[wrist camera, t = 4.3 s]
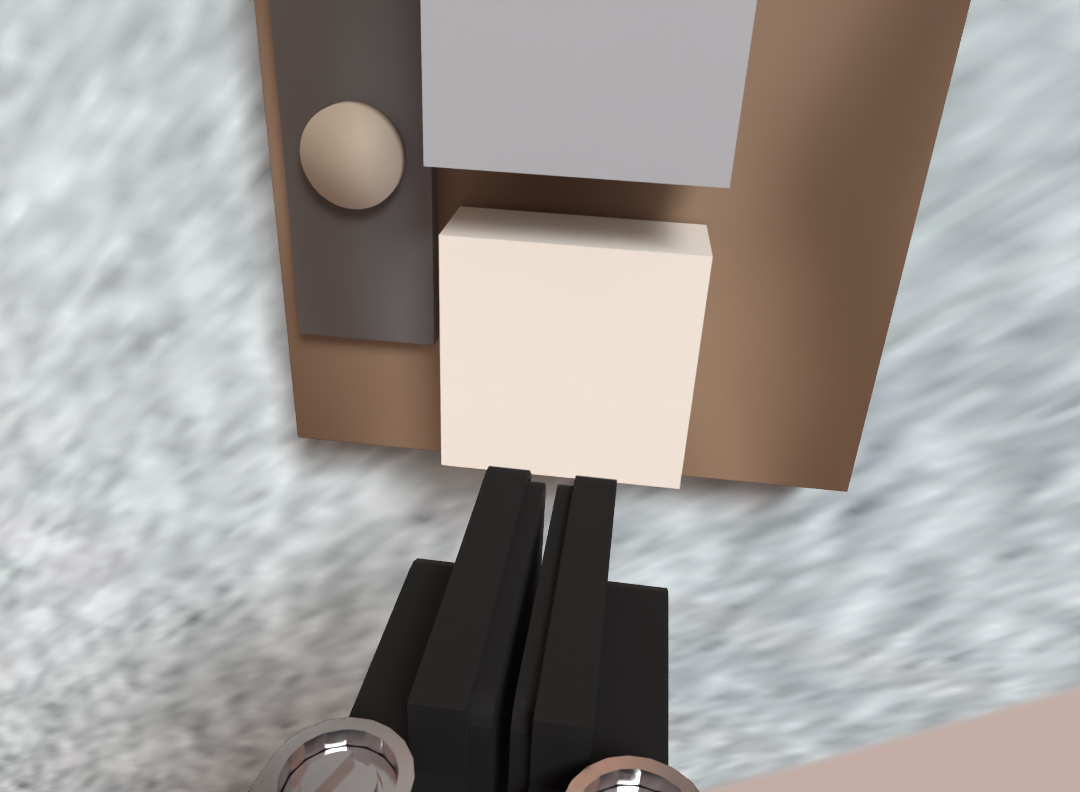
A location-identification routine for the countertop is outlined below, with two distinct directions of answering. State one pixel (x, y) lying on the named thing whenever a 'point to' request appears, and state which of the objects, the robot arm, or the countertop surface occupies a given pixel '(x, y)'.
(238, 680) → the countertop surface
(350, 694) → the countertop surface
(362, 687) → the robot arm
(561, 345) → the cream key
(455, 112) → the grey key
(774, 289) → the keypad board
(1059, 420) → the countertop surface
